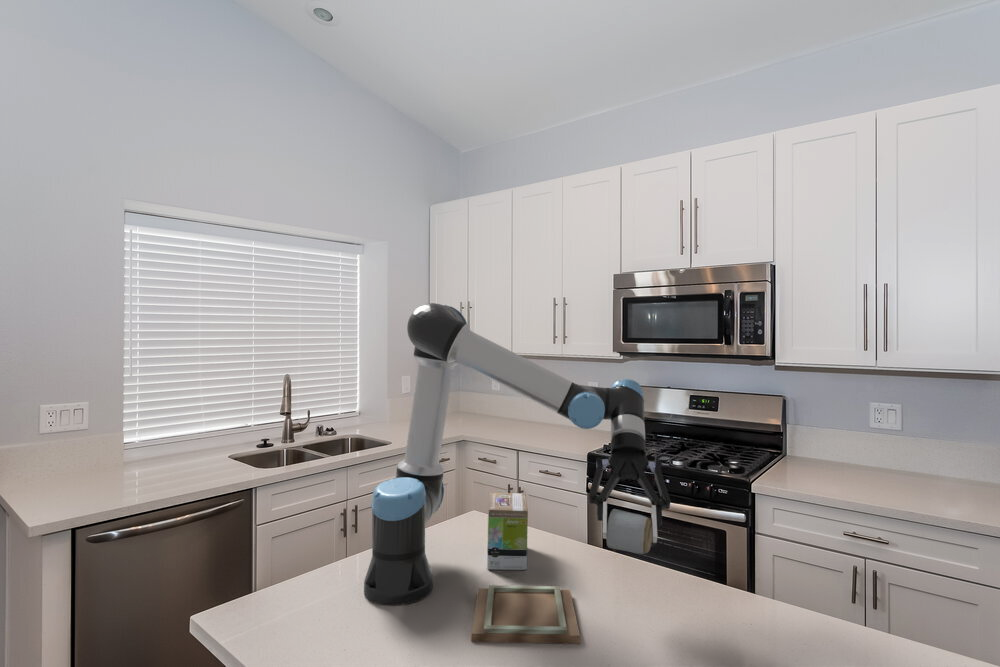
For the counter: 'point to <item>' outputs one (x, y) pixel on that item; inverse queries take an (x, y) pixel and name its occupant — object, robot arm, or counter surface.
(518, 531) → the tea box
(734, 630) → the counter surface
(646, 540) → the ceramic mug
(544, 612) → the board
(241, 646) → the counter surface
